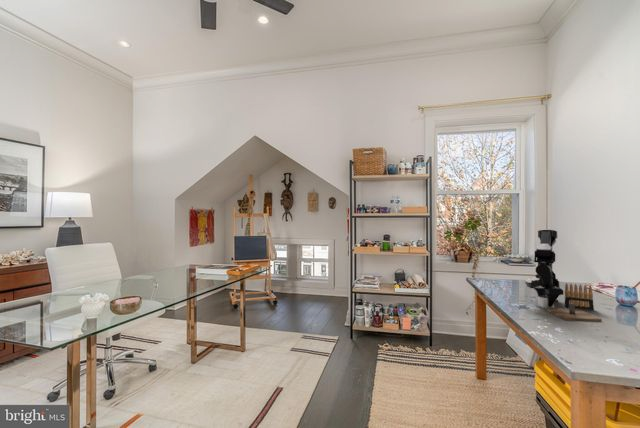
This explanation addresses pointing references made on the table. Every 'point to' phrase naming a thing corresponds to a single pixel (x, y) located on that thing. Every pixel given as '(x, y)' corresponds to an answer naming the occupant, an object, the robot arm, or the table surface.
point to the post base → (573, 314)
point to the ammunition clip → (577, 301)
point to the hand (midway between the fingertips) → (545, 304)
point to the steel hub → (543, 301)
